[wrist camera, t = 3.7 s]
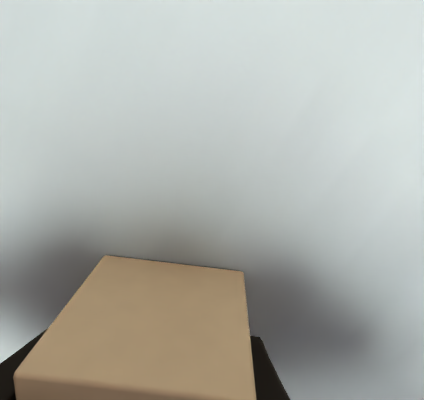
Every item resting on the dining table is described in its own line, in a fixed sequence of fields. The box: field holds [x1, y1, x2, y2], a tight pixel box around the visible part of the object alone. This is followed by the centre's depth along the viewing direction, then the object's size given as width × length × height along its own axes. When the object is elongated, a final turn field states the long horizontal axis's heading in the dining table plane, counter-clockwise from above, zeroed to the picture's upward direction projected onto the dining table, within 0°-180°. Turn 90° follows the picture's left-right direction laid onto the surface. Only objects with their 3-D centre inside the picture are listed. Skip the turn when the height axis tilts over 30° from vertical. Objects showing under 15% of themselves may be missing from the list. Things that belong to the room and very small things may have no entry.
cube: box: [13, 255, 256, 400], centre depth 8 cm, size 4×4×4 cm
